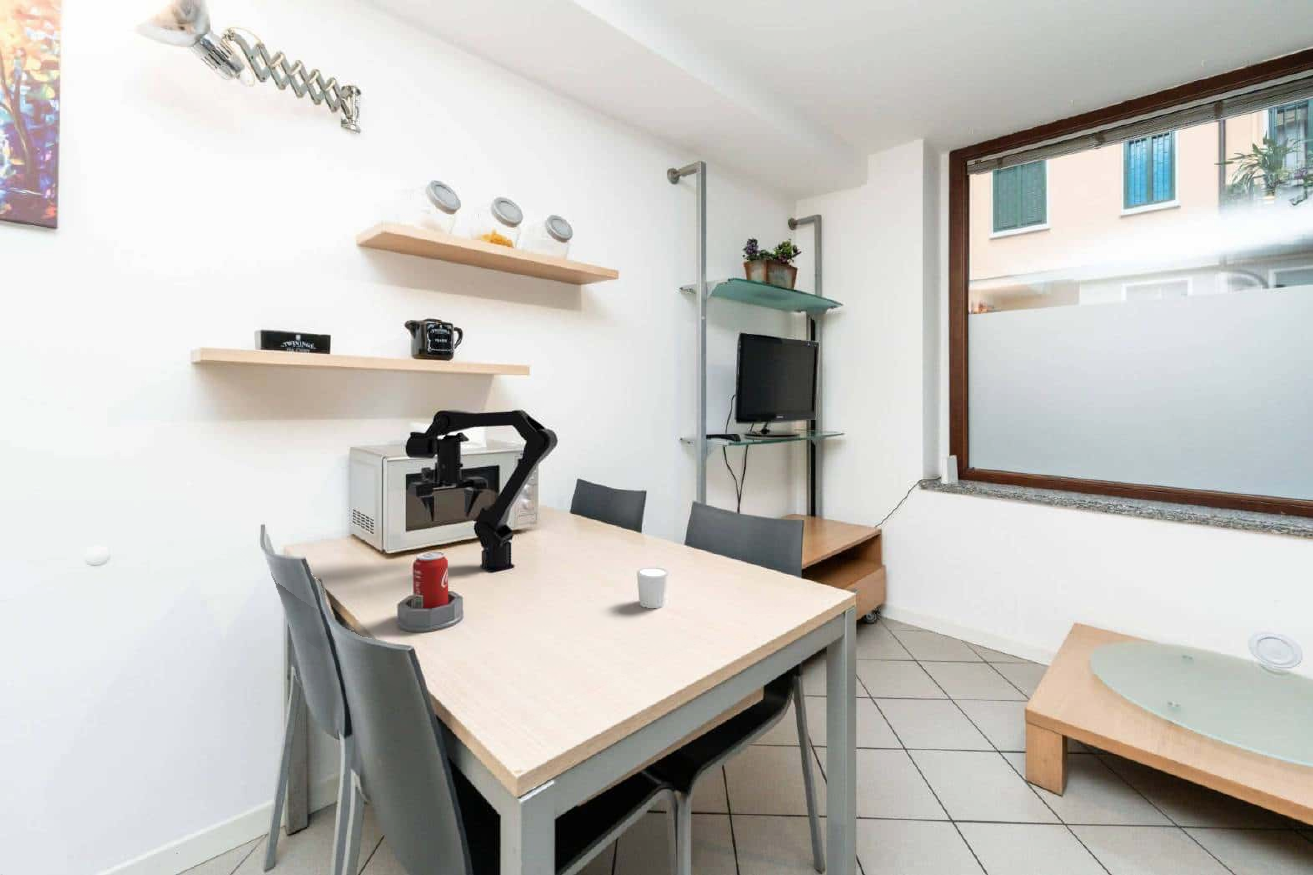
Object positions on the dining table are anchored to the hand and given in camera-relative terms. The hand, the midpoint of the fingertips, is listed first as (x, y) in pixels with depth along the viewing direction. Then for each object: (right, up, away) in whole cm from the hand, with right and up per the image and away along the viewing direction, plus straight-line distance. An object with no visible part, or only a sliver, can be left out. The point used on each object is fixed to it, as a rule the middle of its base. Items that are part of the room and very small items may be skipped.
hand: (449, 519), depth 143 cm
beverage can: (+9, -14, -34) cm, 38 cm away
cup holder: (+9, -15, -34) cm, 39 cm away
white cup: (+53, -15, -24) cm, 60 cm away
